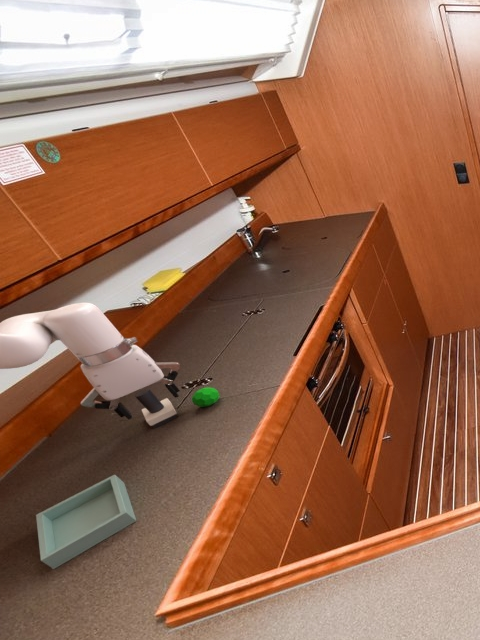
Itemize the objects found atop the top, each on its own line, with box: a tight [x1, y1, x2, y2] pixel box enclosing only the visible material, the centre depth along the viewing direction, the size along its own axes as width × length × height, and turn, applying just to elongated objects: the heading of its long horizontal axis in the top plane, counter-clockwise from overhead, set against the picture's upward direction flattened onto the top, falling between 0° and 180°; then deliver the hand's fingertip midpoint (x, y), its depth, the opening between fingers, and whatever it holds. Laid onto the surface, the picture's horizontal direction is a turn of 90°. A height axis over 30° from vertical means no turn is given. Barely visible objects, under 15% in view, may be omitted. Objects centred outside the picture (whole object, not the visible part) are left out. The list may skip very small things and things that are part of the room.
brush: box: [134, 388, 179, 429], centre depth 103 cm, size 7×5×9 cm
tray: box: [35, 474, 137, 570], centre depth 81 cm, size 15×11×3 cm
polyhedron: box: [191, 386, 220, 408], centre depth 108 cm, size 5×5×5 cm
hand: (153, 405), depth 103 cm, fingers open, 7 cm apart
